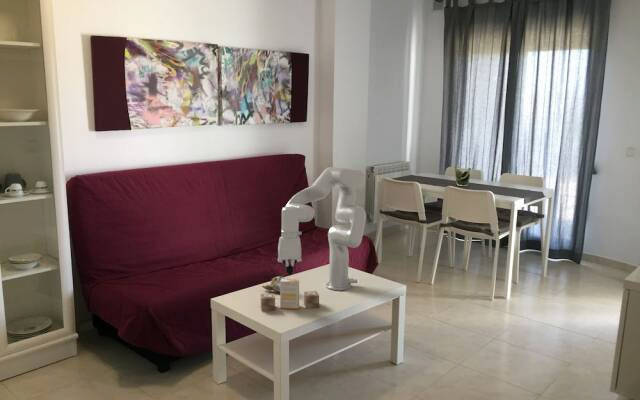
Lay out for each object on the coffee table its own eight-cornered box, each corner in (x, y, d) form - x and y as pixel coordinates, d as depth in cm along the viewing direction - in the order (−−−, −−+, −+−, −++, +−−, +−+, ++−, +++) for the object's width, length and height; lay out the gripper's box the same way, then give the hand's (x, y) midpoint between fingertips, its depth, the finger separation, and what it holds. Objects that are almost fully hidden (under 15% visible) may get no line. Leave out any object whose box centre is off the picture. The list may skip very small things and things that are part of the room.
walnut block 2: (316, 303, 253) (316, 290, 252) (319, 308, 247) (319, 295, 246) (303, 304, 252) (304, 291, 251) (305, 308, 246) (306, 295, 245)
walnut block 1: (273, 305, 249) (273, 292, 248) (275, 310, 244) (275, 297, 242) (260, 306, 248) (260, 293, 247) (261, 311, 242) (261, 298, 241)
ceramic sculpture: (282, 280, 258) (260, 275, 268) (282, 297, 259) (261, 292, 269) (297, 275, 266) (275, 270, 276) (298, 292, 267) (276, 287, 277)
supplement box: (299, 305, 250) (299, 278, 247) (297, 309, 245) (298, 281, 243) (281, 304, 250) (281, 277, 248) (279, 308, 246) (279, 280, 243)
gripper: (305, 232, 247) (304, 271, 250) (272, 232, 244) (272, 272, 247) (307, 236, 239) (307, 276, 242) (273, 236, 237) (273, 277, 240)
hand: (289, 274), depth 245 cm, fingers closed
